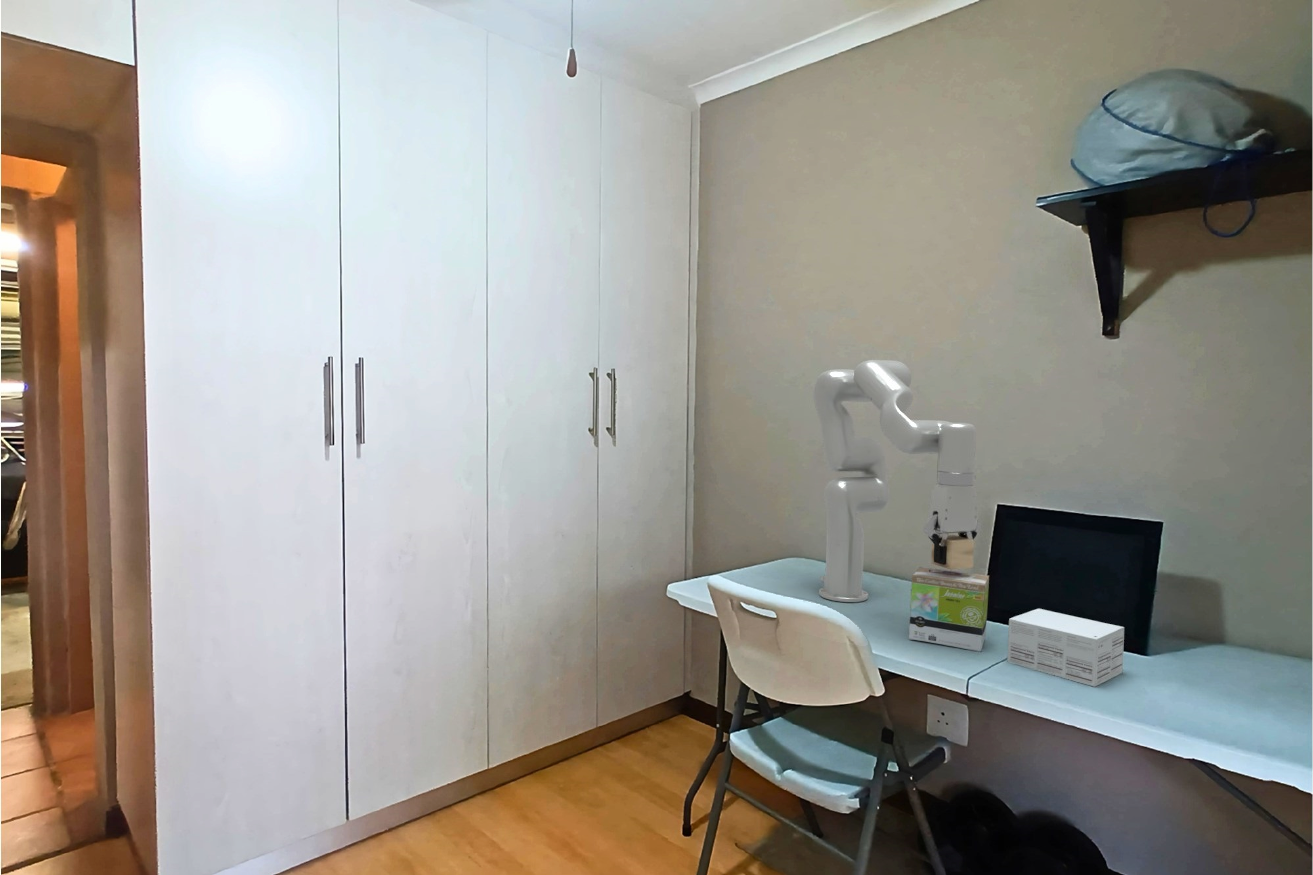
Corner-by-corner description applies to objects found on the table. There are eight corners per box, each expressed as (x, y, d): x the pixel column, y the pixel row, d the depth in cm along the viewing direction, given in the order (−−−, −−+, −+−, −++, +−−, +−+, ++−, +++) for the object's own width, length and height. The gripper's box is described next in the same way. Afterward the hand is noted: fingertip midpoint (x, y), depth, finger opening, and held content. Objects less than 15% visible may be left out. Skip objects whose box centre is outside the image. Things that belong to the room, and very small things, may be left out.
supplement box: (1123, 673, 151) (1126, 626, 150) (1095, 688, 142) (1098, 639, 142) (1036, 649, 164) (1038, 606, 163) (1005, 662, 155) (1008, 617, 155)
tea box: (907, 640, 168) (910, 574, 167) (915, 628, 176) (918, 565, 176) (982, 652, 161) (985, 583, 160) (986, 639, 169) (989, 573, 169)
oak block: (931, 563, 169) (932, 536, 168) (952, 561, 171) (953, 534, 171) (951, 569, 163) (952, 541, 163) (972, 567, 166) (974, 540, 165)
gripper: (972, 476, 173) (968, 556, 174) (911, 478, 166) (908, 561, 167) (998, 480, 166) (995, 563, 167) (936, 483, 159) (932, 569, 161)
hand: (951, 561), depth 167 cm, fingers closed on oak block, 5 cm apart
